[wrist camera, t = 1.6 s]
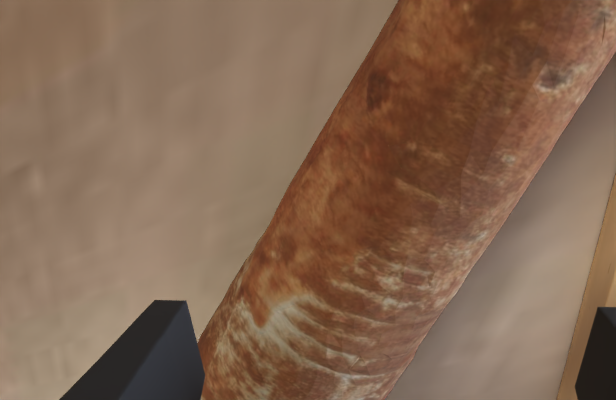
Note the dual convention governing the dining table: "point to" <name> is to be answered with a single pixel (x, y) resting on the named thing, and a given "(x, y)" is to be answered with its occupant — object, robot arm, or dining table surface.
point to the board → (593, 297)
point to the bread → (403, 194)
